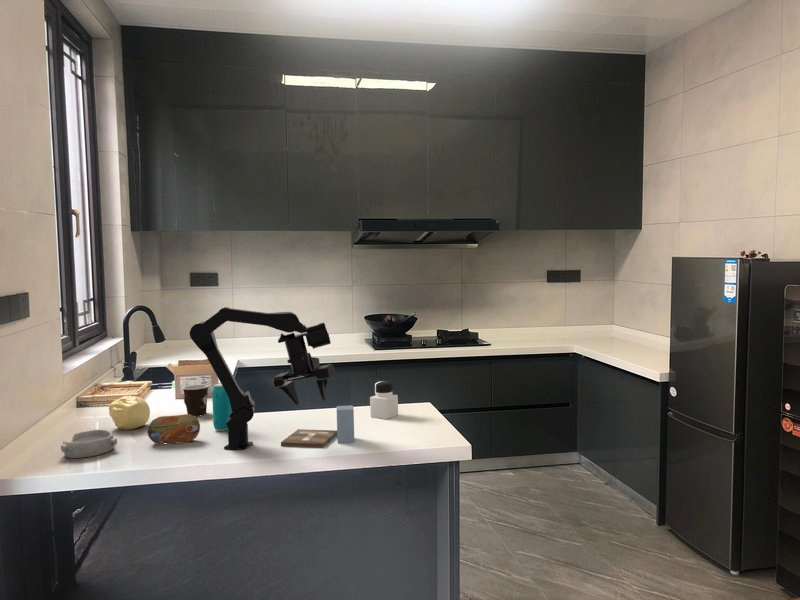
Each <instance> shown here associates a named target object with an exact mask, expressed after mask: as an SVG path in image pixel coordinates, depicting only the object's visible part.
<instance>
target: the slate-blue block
mask: <svg viewBox="0 0 800 600" xmlns="http://www.w3.org/2000/svg"><path fill="white" fill-rule="evenodd" d="M354 410H355V409H354V406H353V405H337V406H336V431H337V435H336V436H337V444H347V443H348V444H349V443H355V416H354V415H355V414H354Z"/></svg>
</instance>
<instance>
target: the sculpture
mask: <svg viewBox="0 0 800 600" xmlns="http://www.w3.org/2000/svg"><path fill="white" fill-rule="evenodd" d="M108 411H109V412H108V413H109V417H111V419H112V421H113V423H114V426H115V427H116V428H118V429H120V430H127V431H130V430H135V429H138V428H141V427H143V426H145V425H146V424H147V423H148V421H149V420H150V417H151V410H150V406H149V404H148V403H147V402H146V400H144V399H143V398H141V397H138V396H131V395H124V396H122V397H120V398H118V399H115V400H113V401H112V402H111V403H110V404H109V405H108Z"/></svg>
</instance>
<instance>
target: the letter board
mask: <svg viewBox="0 0 800 600" xmlns="http://www.w3.org/2000/svg"><path fill="white" fill-rule="evenodd" d="M336 436H337V430H336V429H335V430H330V429H329V430H328V429H326V430H325V429H301V428H299V429H296V430H295V431H294V432H293V433H291V434H290V435H288V436H287V437H286V438H285V439H283V440H282V441H281V442H280V447H297V448H298V447H299V448H321V449H324V447H325V446H327V445H328V444H329V443H330V442H331V441H333V439H334V438H335V437H336Z"/></svg>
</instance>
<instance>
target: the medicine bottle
mask: <svg viewBox="0 0 800 600" xmlns="http://www.w3.org/2000/svg"><path fill="white" fill-rule="evenodd" d="M374 394H375V395H373V396H370V397H369V404H370V406H369V407H370V409H369V410H370V417H371V418H375V419H382V420H390V419H392V418H394V417H397V416H398V415H399V401H398V400H399V397H398V396H399V395H398V394H393V383H392V382H391V381H387V380H382V381H378V382H377V381H376V383H375V384H374Z"/></svg>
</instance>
